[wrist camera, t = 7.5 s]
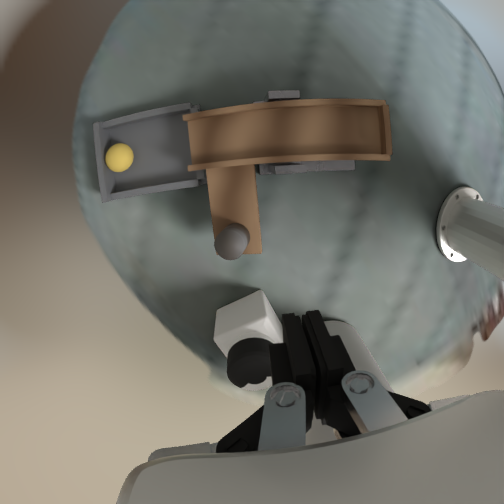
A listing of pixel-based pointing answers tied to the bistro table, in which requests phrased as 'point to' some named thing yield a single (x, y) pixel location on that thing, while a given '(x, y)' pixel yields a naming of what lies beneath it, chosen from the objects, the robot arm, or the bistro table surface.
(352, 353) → the cylinder vase
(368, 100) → the lever
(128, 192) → the tray
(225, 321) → the medicine bottle
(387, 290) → the bistro table surface
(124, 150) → the ball
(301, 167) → the stand
